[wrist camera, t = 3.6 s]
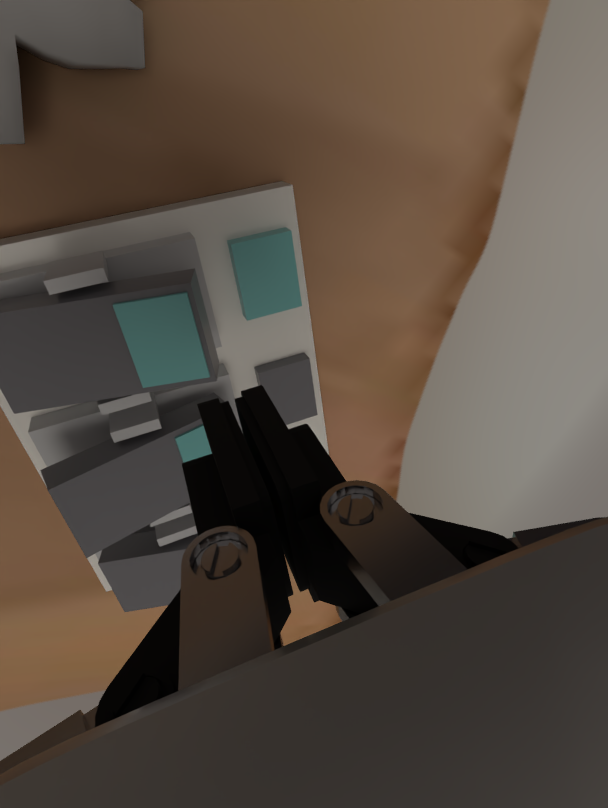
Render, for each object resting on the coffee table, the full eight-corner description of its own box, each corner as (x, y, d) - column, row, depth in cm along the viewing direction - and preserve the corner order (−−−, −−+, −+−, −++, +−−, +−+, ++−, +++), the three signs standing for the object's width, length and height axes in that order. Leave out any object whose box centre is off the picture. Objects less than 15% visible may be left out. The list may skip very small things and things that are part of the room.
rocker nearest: (-18, 302, 18) (-41, 321, 17) (194, 268, 18) (190, 283, 17) (29, 392, 20) (12, 415, 19) (219, 362, 20) (216, 383, 19)
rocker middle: (40, 470, 20) (48, 492, 19) (213, 392, 23) (230, 406, 22) (77, 536, 22) (87, 560, 21) (231, 456, 26) (247, 472, 24)
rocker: (105, 538, 25) (97, 565, 24) (258, 513, 25) (258, 539, 24) (130, 586, 28) (124, 614, 26) (271, 563, 28) (272, 590, 26)
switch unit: (-71, 253, 20) (-118, 293, 15) (282, 181, 23) (326, 197, 19) (105, 572, 31) (107, 649, 26) (327, 492, 34) (361, 548, 29)
